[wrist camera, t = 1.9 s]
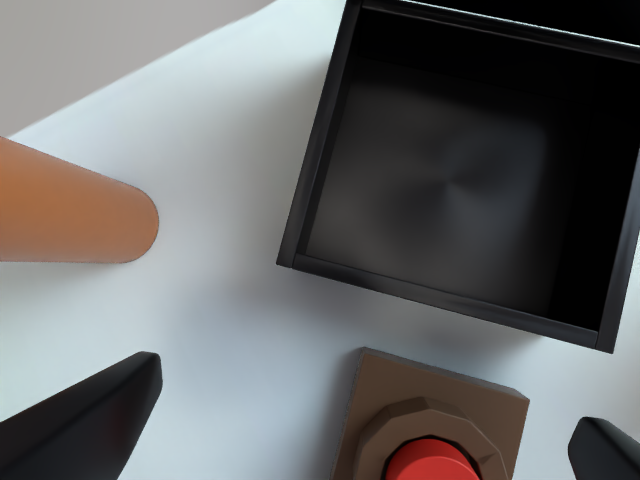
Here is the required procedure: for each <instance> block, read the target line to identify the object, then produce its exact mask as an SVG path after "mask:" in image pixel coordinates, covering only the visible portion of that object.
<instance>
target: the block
mask: <svg viewBox="0 0 640 480" xmlns="http://www.w3.org/2000/svg"><path fill="white" fill-rule="evenodd" d="M529 402H530V400H529V399H528V398H526V397H525V396H524V395H522V394H521V393H519V392H518V391H517V390H515V389H512V388H509V387H505V386H502V385H498V384H495V383H491V382H488V381H484V380H480V379H477V378H473V377H470V376H466V375H463V374H459V373H455V372H452V371H448V370H445V369H441V368H438V367H434V366H430V365H427V364H423V363H420V362H416V361H413V360H409V359H406V358H402V357H398V356H395V355H391V354H388V353H384V352H381V351H377V350H373V349H370V348H366V347H363V348H362V352H361V356H360V360H359V364H358V368H357V372H356V376H355V380H354V384H353V387H352V391H351V395H350V399H349V403H348V407H347V411H346V415H345V419H344V423H343V427H342V431H341V435H340V439H339V443H338V447H337V451H336V455H335V459H334V463H333V467H332V471H331V475H330V479H329V480H385V476H386V471H387V468H388V465H389V463H390V461H391V459H392V458H393V456H394V455H395V454H396V453H397V451H399V450H400V449H401V448H402V447H403V446H405V445H406V444H408V443H410V442H413V441H416V440H421V439H435V440H440V441H443V442H445V443H448V444H450V445H451V446H453V447H454V448H456V449H457V450H458V451H460V452H461V453H462V454H463V456H464V457H465V458H466V459H467V461H468V462H469V464H470V465H471V467H472V468H473V470H474V472H475V473H476V475H477V476H478V478H479V479H480V480H512V477H513V473H514V468H515V464H516V459H517V455H518V450H519V446H520V442H521V437H522V433H523V428H524V424H525V419H526V415H527V411H528V406H529Z"/></svg>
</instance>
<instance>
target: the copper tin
mask: <svg viewBox="0 0 640 480" xmlns="http://www.w3.org/2000/svg"><path fill="white" fill-rule="evenodd" d="M158 226H159V220H158V213H157V210H156V207H155V205H154V203H153V201H152V200H151V199H150V197H149V196H148V195H147V194H146V193H144V192H143V191H141V190H140V189H138V188H135V187H133V186H130V185H128V184H125V183H122V182H120V181H117V180H114V179H112V178H109V177H106V176H104V175H101V174H99V173H96V172H93V171H91V170H88V169H85V168H83V167H80V166H77V165H75V164H72V163H69V162H67V161H64V160H62V159H59V158H56V157H54V156H51V155H48V154H46V153H43V152H40V151H38V150H35V149H32V148H30V147H27V146H25V145H22V144H19V143H17V142H14V141H11V140H9V139H6V138H3V137H1V136H0V262H66V263H126V262H130V261H133V260H135V259H137V258H139V257H140V256H142V255H143V254H144V253H145V252H146V251H147V250H148V249H149V248H150V247H151V245H152V244H153V242H154V240H155V238H156V235H157V232H158Z"/></svg>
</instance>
